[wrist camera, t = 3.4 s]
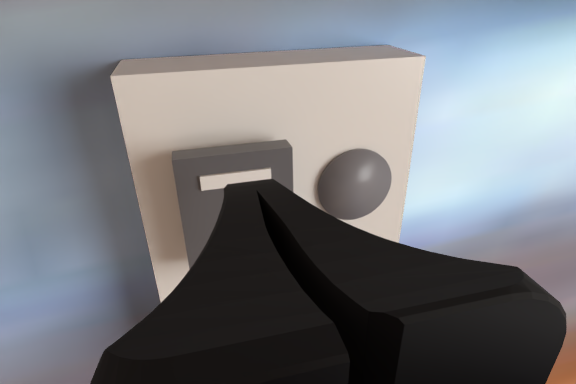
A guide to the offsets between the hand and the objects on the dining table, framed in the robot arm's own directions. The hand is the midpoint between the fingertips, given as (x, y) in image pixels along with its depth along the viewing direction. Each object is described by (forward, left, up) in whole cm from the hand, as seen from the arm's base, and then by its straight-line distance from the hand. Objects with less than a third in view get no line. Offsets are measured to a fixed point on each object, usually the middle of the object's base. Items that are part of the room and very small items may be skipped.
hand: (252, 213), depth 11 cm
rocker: (-2, 0, -4) cm, 4 cm away
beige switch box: (-6, -2, -7) cm, 10 cm away
